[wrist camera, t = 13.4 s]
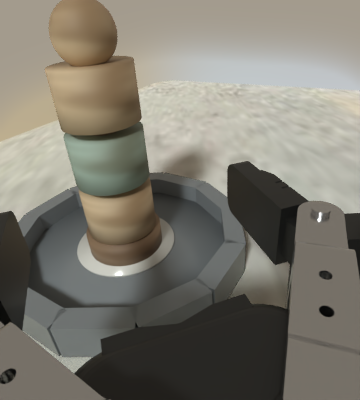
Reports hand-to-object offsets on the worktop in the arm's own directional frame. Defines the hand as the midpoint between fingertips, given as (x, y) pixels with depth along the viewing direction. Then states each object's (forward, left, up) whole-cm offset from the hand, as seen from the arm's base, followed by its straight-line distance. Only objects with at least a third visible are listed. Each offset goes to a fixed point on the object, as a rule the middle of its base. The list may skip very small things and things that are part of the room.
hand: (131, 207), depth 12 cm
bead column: (-7, -8, -9) cm, 14 cm away
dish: (-7, -8, -10) cm, 15 cm away
